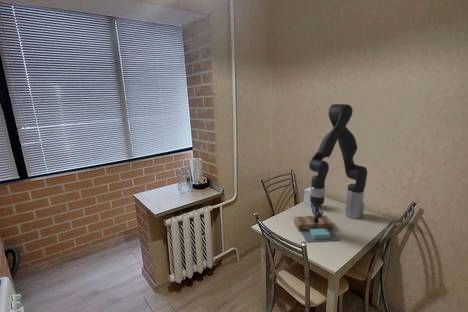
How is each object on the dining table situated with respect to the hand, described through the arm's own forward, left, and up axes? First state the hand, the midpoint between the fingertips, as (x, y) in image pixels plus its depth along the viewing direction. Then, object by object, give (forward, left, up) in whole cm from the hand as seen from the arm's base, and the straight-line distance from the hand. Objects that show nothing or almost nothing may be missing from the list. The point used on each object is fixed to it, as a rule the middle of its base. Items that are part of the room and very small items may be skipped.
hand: (316, 222), depth 143 cm
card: (0, +6, -2) cm, 7 cm away
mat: (0, +6, -5) cm, 8 cm away
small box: (-8, -31, -5) cm, 32 cm away
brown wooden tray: (0, -5, -5) cm, 7 cm away
